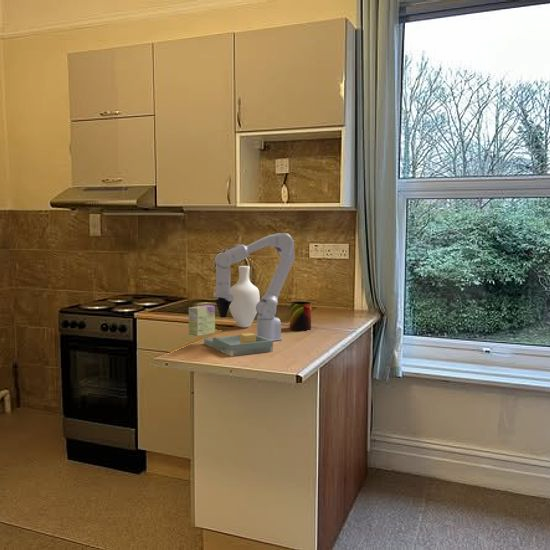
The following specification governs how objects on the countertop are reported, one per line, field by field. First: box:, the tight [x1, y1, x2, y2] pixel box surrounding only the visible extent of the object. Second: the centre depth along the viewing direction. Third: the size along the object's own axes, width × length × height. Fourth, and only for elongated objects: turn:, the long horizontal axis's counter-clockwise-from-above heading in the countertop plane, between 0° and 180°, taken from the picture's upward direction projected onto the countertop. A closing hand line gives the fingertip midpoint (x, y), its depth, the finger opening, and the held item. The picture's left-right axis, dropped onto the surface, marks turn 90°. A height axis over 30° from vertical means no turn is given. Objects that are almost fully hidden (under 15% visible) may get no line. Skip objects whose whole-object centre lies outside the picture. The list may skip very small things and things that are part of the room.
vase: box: [228, 265, 261, 329], centre depth 253 cm, size 14×14×28 cm
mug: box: [289, 301, 312, 332], centre depth 251 cm, size 10×14×12 cm
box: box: [188, 304, 216, 337], centre depth 237 cm, size 10×6×12 cm, turn 141°
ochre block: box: [239, 332, 257, 344], centre depth 203 cm, size 4×4×4 cm
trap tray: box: [203, 333, 274, 357], centre depth 211 cm, size 17×24×4 cm
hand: (223, 317), depth 220 cm, fingers closed
